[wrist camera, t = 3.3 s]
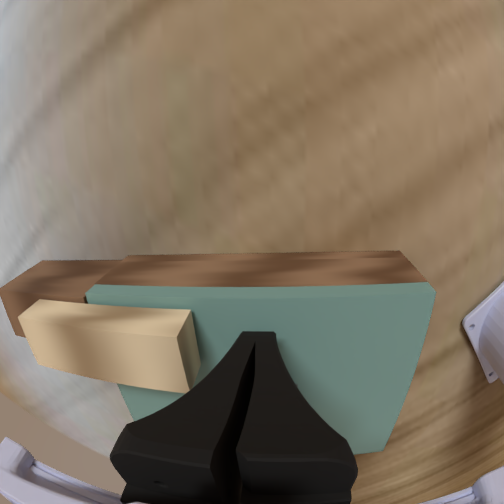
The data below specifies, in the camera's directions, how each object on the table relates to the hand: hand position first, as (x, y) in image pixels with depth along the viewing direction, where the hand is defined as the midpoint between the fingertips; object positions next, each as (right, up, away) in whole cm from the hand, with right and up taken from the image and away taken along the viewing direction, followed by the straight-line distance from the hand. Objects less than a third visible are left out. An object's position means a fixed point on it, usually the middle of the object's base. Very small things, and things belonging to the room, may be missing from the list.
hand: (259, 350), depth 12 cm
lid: (0, -3, +3) cm, 5 cm away
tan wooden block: (-7, 0, +1) cm, 7 cm away
